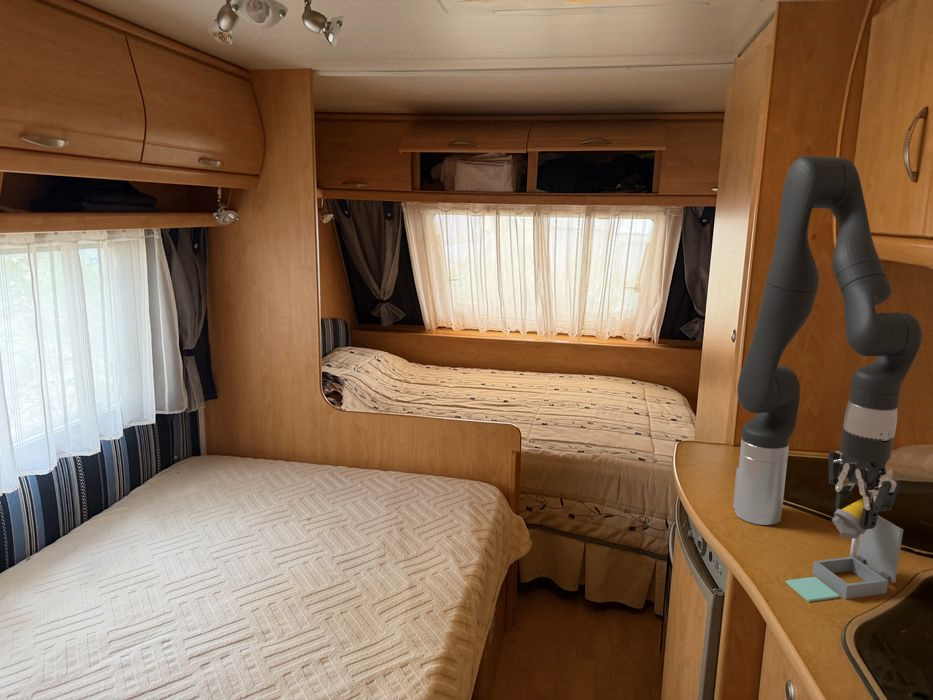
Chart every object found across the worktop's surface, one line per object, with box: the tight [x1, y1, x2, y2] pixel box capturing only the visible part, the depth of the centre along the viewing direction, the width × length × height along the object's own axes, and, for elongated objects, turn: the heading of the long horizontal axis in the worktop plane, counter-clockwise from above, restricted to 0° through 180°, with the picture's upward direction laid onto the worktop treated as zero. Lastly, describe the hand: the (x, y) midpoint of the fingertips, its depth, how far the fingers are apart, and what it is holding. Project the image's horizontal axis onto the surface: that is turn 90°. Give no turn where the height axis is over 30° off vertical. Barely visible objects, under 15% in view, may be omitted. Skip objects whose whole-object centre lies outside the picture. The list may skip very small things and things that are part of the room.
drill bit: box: [831, 496, 873, 539], centre depth 116 cm, size 5×5×10 cm
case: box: [812, 514, 904, 600], centre depth 118 cm, size 10×10×12 cm
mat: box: [785, 576, 840, 603], centre depth 116 cm, size 6×6×1 cm
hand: (854, 519), depth 116 cm, fingers closed on drill bit, 5 cm apart
